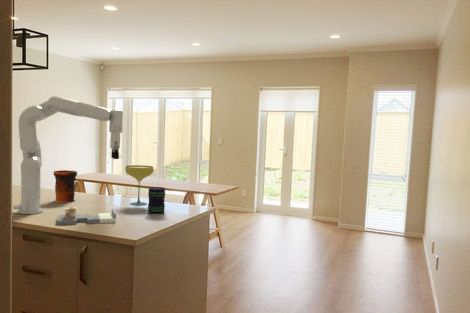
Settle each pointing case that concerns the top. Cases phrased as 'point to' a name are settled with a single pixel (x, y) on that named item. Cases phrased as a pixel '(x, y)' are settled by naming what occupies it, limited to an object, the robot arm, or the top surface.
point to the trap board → (88, 218)
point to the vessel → (65, 185)
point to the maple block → (70, 212)
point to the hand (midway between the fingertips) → (115, 158)
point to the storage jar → (156, 200)
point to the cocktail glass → (139, 177)
